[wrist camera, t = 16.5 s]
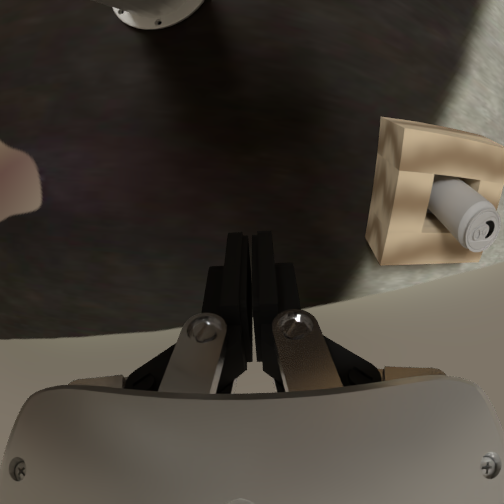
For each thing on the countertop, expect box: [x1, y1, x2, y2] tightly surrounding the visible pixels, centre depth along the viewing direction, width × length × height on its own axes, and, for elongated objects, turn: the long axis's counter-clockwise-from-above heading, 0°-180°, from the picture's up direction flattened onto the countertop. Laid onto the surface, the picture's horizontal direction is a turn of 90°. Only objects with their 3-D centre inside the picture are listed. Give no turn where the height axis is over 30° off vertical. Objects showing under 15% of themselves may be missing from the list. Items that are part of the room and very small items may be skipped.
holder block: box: [365, 117, 504, 265], centre depth 36 cm, size 18×18×7 cm
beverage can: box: [428, 174, 501, 252], centre depth 32 cm, size 6×6×12 cm
